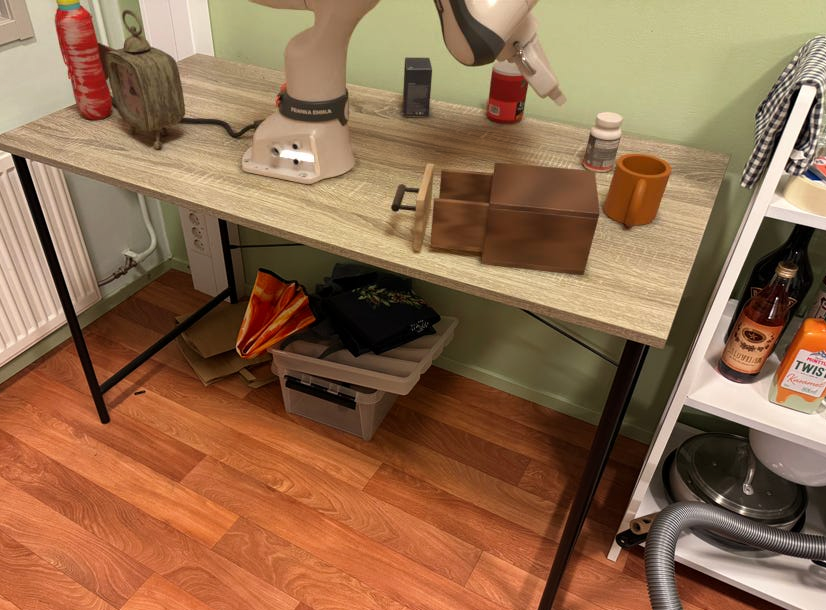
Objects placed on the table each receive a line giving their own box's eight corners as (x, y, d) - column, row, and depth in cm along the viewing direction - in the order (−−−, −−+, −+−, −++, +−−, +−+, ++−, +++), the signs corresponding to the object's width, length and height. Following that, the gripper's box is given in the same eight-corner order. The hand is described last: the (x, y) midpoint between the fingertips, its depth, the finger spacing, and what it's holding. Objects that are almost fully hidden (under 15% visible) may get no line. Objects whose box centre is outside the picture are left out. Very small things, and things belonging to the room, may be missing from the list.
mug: (591, 225, 117) (603, 176, 111) (611, 196, 124) (623, 149, 118) (644, 239, 113) (660, 189, 107) (661, 208, 121) (677, 160, 115)
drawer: (387, 246, 110) (388, 197, 104) (399, 208, 119) (401, 161, 114) (504, 259, 107) (513, 209, 101) (508, 219, 116) (516, 171, 110)
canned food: (522, 125, 148) (530, 73, 141) (485, 122, 149) (491, 71, 142) (522, 111, 154) (531, 61, 146) (487, 109, 155) (493, 59, 148)
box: (429, 117, 152) (432, 68, 145) (403, 117, 152) (406, 68, 145) (426, 104, 158) (429, 56, 151) (402, 104, 158) (404, 56, 151)
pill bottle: (584, 158, 136) (595, 109, 129) (613, 162, 134) (626, 112, 128) (581, 170, 132) (592, 120, 125) (611, 174, 130) (625, 124, 124)
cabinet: (481, 264, 108) (489, 202, 101) (486, 220, 118) (494, 162, 111) (583, 275, 105) (599, 213, 98) (580, 229, 115) (595, 170, 108)
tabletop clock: (121, 133, 147) (91, 7, 130) (158, 121, 151) (133, -2, 135) (156, 154, 139) (128, 23, 122) (193, 142, 143) (172, 13, 127)
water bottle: (111, 101, 161) (83, -17, 144) (134, 108, 157) (108, -12, 140) (69, 118, 153) (34, -5, 137) (92, 126, 150) (59, 1, 133)
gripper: (535, 39, 108) (584, 102, 114) (519, 4, 123) (563, 61, 129) (503, 68, 111) (552, 127, 117) (491, 30, 126) (535, 84, 132)
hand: (558, 92), depth 123 cm, fingers open, 8 cm apart
